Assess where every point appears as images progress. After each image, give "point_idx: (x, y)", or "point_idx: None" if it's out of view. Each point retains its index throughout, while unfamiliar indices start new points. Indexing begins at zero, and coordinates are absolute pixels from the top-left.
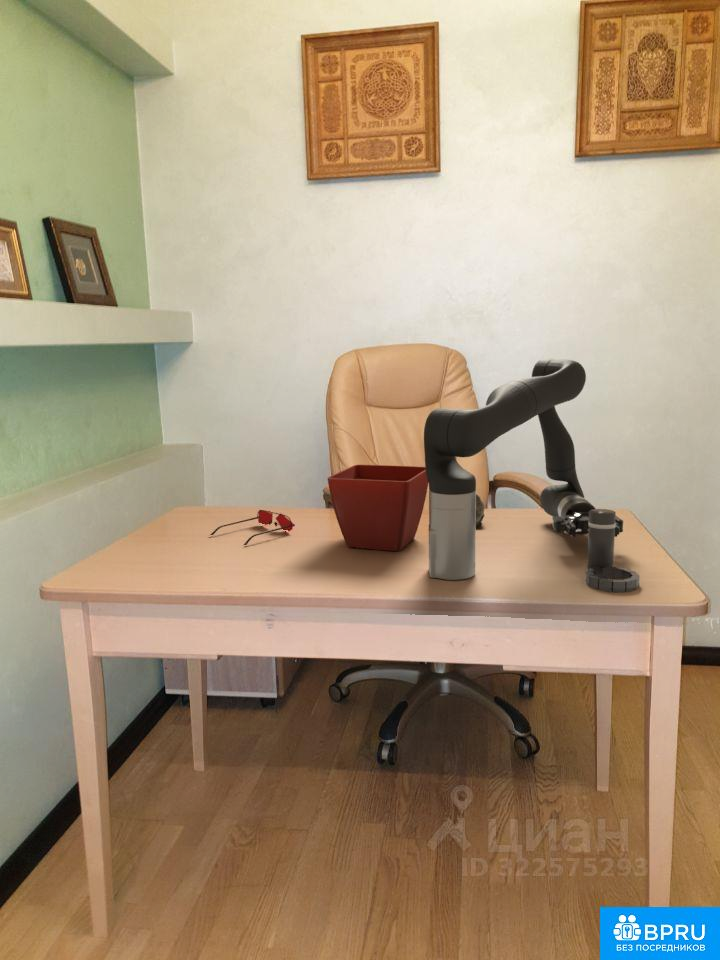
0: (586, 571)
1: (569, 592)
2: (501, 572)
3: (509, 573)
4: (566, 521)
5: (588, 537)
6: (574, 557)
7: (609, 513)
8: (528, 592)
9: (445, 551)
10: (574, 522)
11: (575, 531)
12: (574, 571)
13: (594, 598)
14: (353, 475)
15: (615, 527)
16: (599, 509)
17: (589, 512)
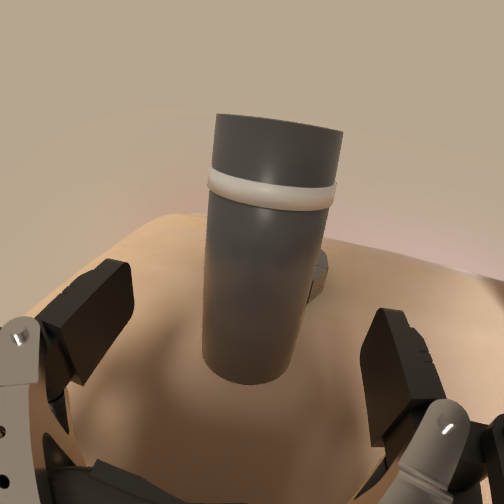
0: (326, 269)
1: (361, 264)
2: (499, 355)
3: (485, 349)
4: (457, 417)
5: (318, 254)
6: (295, 498)
7: (259, 117)
8: (425, 276)
9: None
10: (369, 494)
11: (372, 326)
12: (337, 350)
13: (321, 244)
14: None
15: (120, 262)
16: (278, 121)
17: (342, 135)
